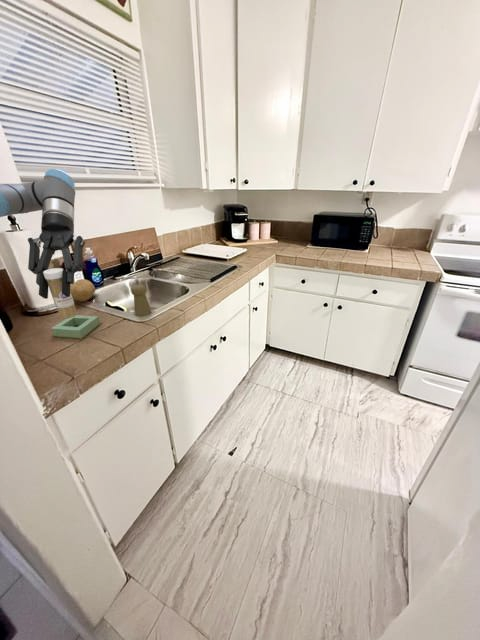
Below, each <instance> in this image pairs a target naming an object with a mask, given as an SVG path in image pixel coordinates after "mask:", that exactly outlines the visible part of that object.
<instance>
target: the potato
mask: <svg viewBox="0 0 480 640" xmlns="http://www.w3.org/2000/svg"><path fill="white" fill-rule="evenodd" d="M70 292H71V295H72V298H73V301H76V302H82V303H84V302H86V301H88V300H90V299H92V298H93V296H94V294H95V293H96V287H95V285H94V284H93V282H91V281H90V280H89V279H84V278H80V279H78V280H76V281H74V283H73V284H70Z"/></svg>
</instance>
